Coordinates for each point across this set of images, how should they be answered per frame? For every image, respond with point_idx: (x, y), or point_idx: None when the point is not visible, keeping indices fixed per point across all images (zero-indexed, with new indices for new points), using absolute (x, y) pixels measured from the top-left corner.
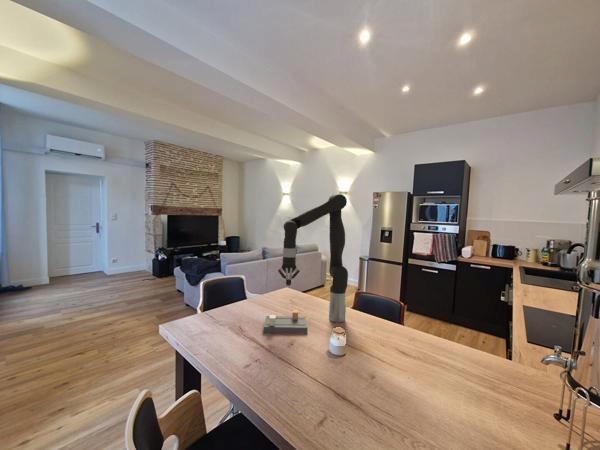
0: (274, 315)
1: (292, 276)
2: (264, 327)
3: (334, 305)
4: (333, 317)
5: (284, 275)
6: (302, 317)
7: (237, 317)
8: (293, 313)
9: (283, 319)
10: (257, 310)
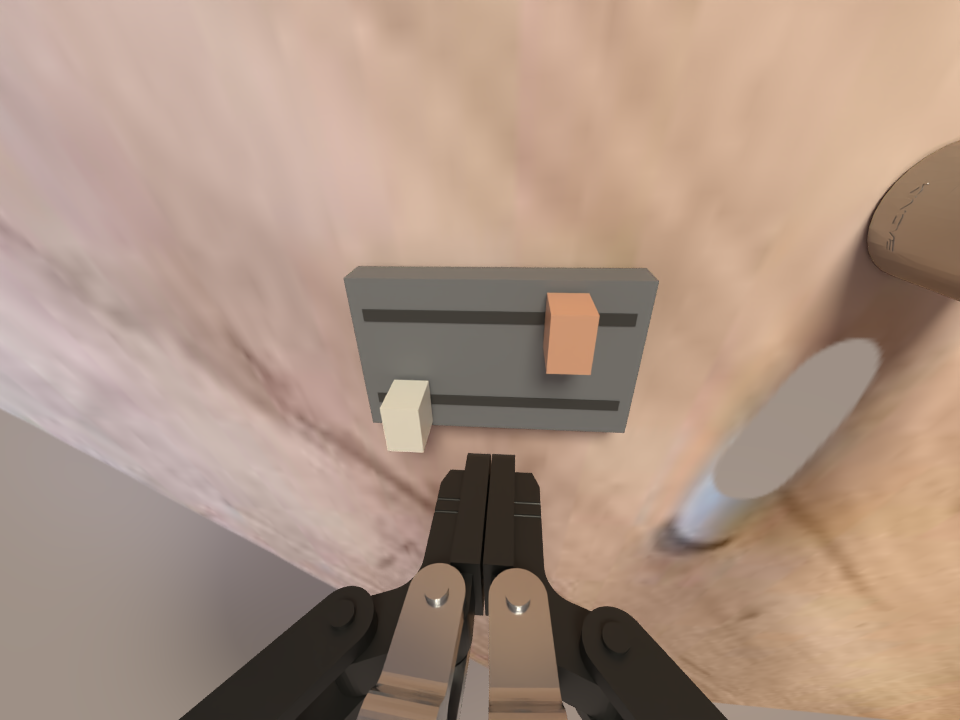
0: (411, 419)
1: (581, 710)
2: (378, 421)
3: None
4: (909, 278)
5: (345, 666)
6: (627, 297)
7: (140, 207)
8: (551, 370)
9: (478, 333)
10: (209, 19)
